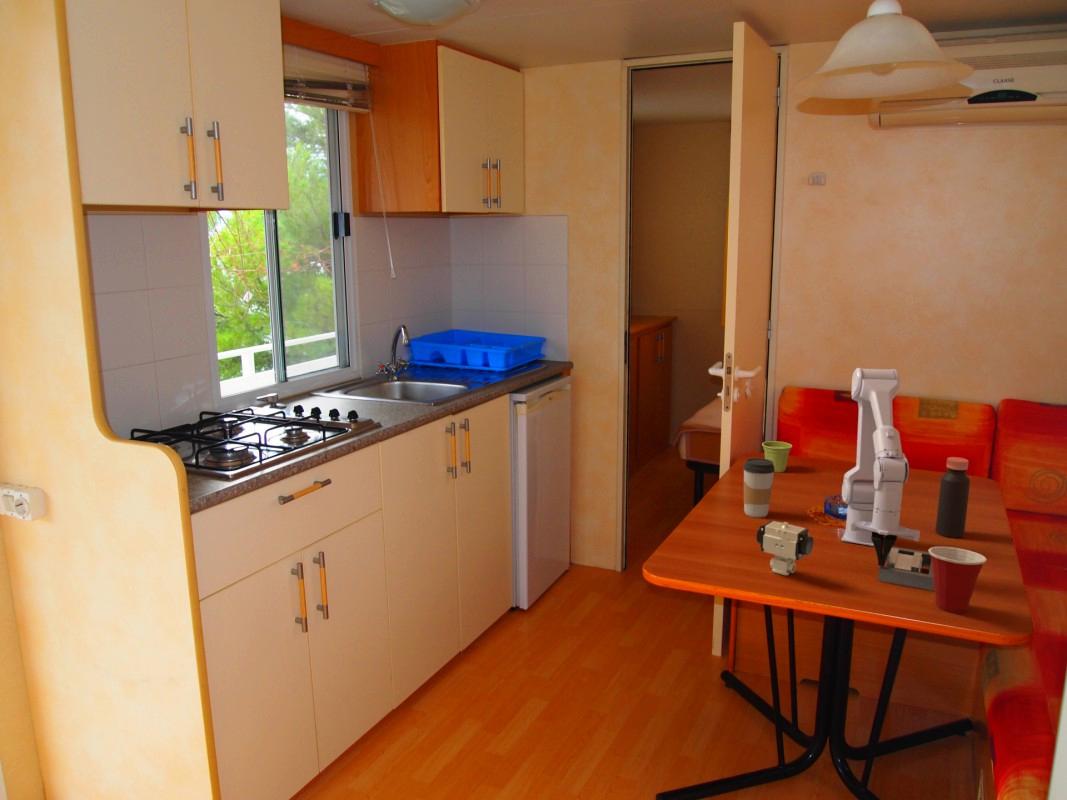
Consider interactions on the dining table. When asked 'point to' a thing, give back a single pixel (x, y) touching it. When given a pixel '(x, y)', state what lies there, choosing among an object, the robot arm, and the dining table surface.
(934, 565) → the plastic cup
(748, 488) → the coffee cup
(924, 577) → the dock
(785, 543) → the pneumatic valve
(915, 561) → the block
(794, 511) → the dining table surface
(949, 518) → the bottle
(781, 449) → the plant pot
